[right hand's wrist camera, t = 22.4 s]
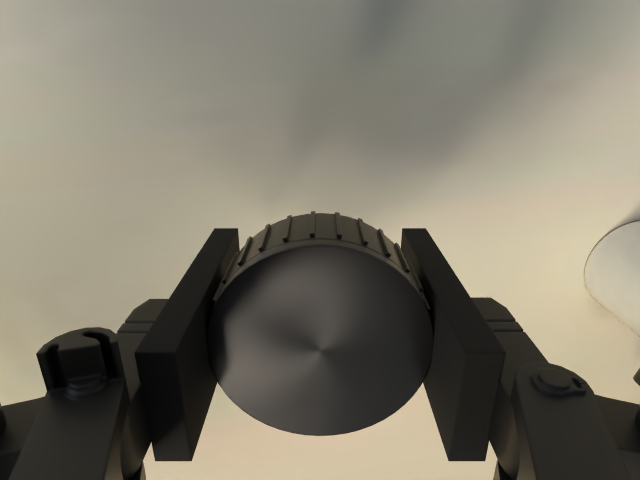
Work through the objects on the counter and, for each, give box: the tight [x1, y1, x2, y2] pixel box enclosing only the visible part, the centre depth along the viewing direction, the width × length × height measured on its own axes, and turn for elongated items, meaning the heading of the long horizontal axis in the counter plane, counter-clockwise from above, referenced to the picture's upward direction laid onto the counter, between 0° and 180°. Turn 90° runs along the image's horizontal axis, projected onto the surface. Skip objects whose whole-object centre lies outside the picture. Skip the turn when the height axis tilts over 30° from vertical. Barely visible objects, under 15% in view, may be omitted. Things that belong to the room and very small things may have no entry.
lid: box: [206, 211, 434, 436], centre depth 11 cm, size 6×6×2 cm
